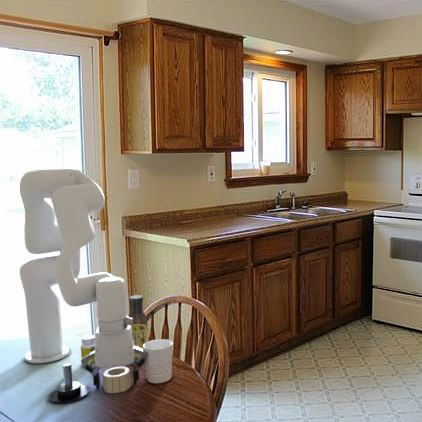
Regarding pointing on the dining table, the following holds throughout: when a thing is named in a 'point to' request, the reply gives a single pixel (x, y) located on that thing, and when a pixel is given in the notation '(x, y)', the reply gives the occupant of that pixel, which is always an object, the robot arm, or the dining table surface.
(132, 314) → the sauce bottle
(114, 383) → the tape roll
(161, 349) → the white cup
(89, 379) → the dining table surface
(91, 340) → the supplement bottle
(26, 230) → the robot arm
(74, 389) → the tape stand
